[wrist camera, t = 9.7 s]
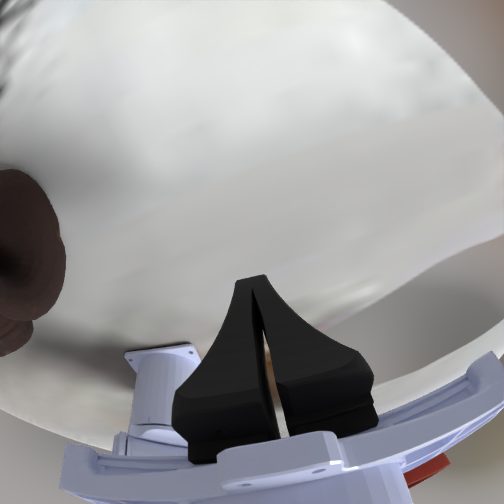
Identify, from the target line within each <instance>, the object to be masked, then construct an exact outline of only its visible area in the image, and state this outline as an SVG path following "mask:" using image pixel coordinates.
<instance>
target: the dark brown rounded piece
mask: <svg viewBox="0 0 504 504" xmlns="http://www.w3.org/2000/svg"><path fill="white" fill-rule="evenodd" d="M65 270H66V254H65V247H64V245H63V242H62V240H61V237H60V230H59V223H58V219H57V216H56V214H55V212H54V210H53V208H52V205H51V203H50V201H49V200H48V198H47V196H46V194H45V192H44V191H43V190H42V188H41V187H40V186H39V185H38V184H37V182H36V181H34V180H33V179H32V178H31V177H30V176H29V175H27V174H25V173H23V172H21V171H19V170H14V169H9V170H1V171H0V357H3V356H5V355H7V354H9V353H12V352H14V351H16V350H18V349H19V348H21V347H22V346H23V345H24V344H26V343H27V342H28V341H29V339H30V338H31V336H32V333H33V323H32V320H35V319H37V318H39V317H41V316H42V315H44V314H46V313H47V312H48V311H49V310H50V309H51V308H52V307H53V305H54V304H55V302H56V301H57V299H58V297H59V294H60V292H61V290H62V287H63V283H64V277H65Z"/></svg>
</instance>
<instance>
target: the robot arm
mask: <svg viewBox="0 0 504 504" xmlns="http://www.w3.org/2000/svg"><path fill="white" fill-rule="evenodd" d="M263 332H264V335H265V338H266V341H267V344H268V347H269V350H270V355H271V360H272V366H273V371H274V376H275V382H276V386H277V389H278V393H279V397H280V400H281V404H282V408H283V411H284V416H285V421H286V425H287V429H288V432H289V435H290V437H288V438H283V439H281V437H280V433H279V428H278V423H277V419H276V414H275V410H274V405H273V400H272V395H271V391H270V386H269V381H268V376H267V369H266V359H265V348H264V338H263ZM124 357H125V359H126V360H127V361H128V363H129V364H130V365H131V367H132V368H133V369H134V371H135V372H136V373H137V377H136V383H135V390H134V396H133V402H132V409H131V417H130V424H129V429H128V433H127V436H126V432H122V431H121V432H120V433H119V434H117V435H115V436H114V442H113V450H112V454H101V453H97V452H96V451H95V450H94V449H92V448H90V447H88V446H84V445H78V444H71V443H67V444H66V448H65V453H64V458H63V464H62V470H61V477H60V483H59V488H60V489H61V490H63V491H66V492H68V493H70V494H72V495H74V496H77V497H79V498H82V499H84V500H86V501H89V502H92V503H95V504H413V500H412V498H411V495H410V492H409V489H408V486H407V484H406V481H405V478H404V475H403V473H405V472H407V471H409V470H411V469H413V468H415V467H417V466H419V465H421V464H423V463H425V462H426V461H428V460H430V459H432V458H434V457H435V456H437V455H439V454H440V453H442V452H443V451H445V450H447V449H448V448H450V447H452V446H453V445H455V444H456V443H458V442H459V441H461V440H463V439H464V438H466V437H467V436H468V435H470V434H472V433H473V432H474V431H476V430H477V429H479V428H480V427H482V426H483V425H484V424H486V423H487V422H489V421H490V420H491V419H493V418H494V417H495V416H496V415H497V414H498V413H499V412H500V411H501V409H503V407H504V367H503V365H502V364H501V363H500V361H499V360H498V358H497V357H496V355H495V354H494V353H493V351H490V352H488V353H486V354H485V355H483V356H482V357H480V358H478V359H477V360H475V361H474V362H473V363H472V364H471V365H470V366H469V368H468V369H467V372H466V374H464V375H463V376H461V377H459V378H457V379H456V380H454V381H452V382H450V383H448V384H446V385H444V386H443V387H441V388H439V389H437V390H435V391H433V392H431V393H429V394H427V395H425V396H423V397H420V398H418V399H416V400H414V401H412V402H409V403H407V404H405V405H403V406H400V407H398V408H396V409H393V410H391V411H388V412H386V413H383V414H381V415H378V416H377V413H376V411H375V408H374V406H373V403H374V401H373V398H372V396H371V389H372V385H373V381H374V375H373V372H372V370H371V368H370V366H369V365H368V363H367V362H366V361H365V359H364V358H363V357H362V355H361V354H360V353H359V352H358V351H356V350H354V349H352V348H349V347H347V346H345V345H342V344H340V343H338V342H337V341H335V340H333V339H331V338H329V337H328V336H326V335H324V334H323V333H321V332H320V331H318V330H317V329H315V328H314V327H312V326H311V325H310V324H308V323H307V322H306V321H305V320H303V319H302V318H301V317H300V316H299V315H298V314H296V313H295V312H294V311H293V310H292V309H291V308H290V307H289V306H288V305H287V304H286V303H285V302H284V300H283V299H282V298H281V297H280V296H279V295H278V293H277V292H276V291H275V289H274V288H273V287H272V285H271V284H270V282H269V280H268V278H267V276H266V275H264V274H263V275H258V276H254V277H250V278H245V279H241V280H237V281H236V283H235V288H234V293H233V297H232V300H231V304H230V307H229V310H228V313H227V315H226V318H225V320H224V322H223V325H222V327H221V329H220V331H219V334H218V335H217V337H216V339H215V341H214V343H213V345H212V346H211V348H210V349H209V351H208V353H207V354H206V356H205V357H204V359H203V360H202V361H201V359H200V357H199V355H198V353H197V351H196V349H195V347H194V346H193V345H192V344H184V345H178V346H171V347H164V348H157V349H149V350H141V351H133V352H126V353H125V355H124Z"/></svg>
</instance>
